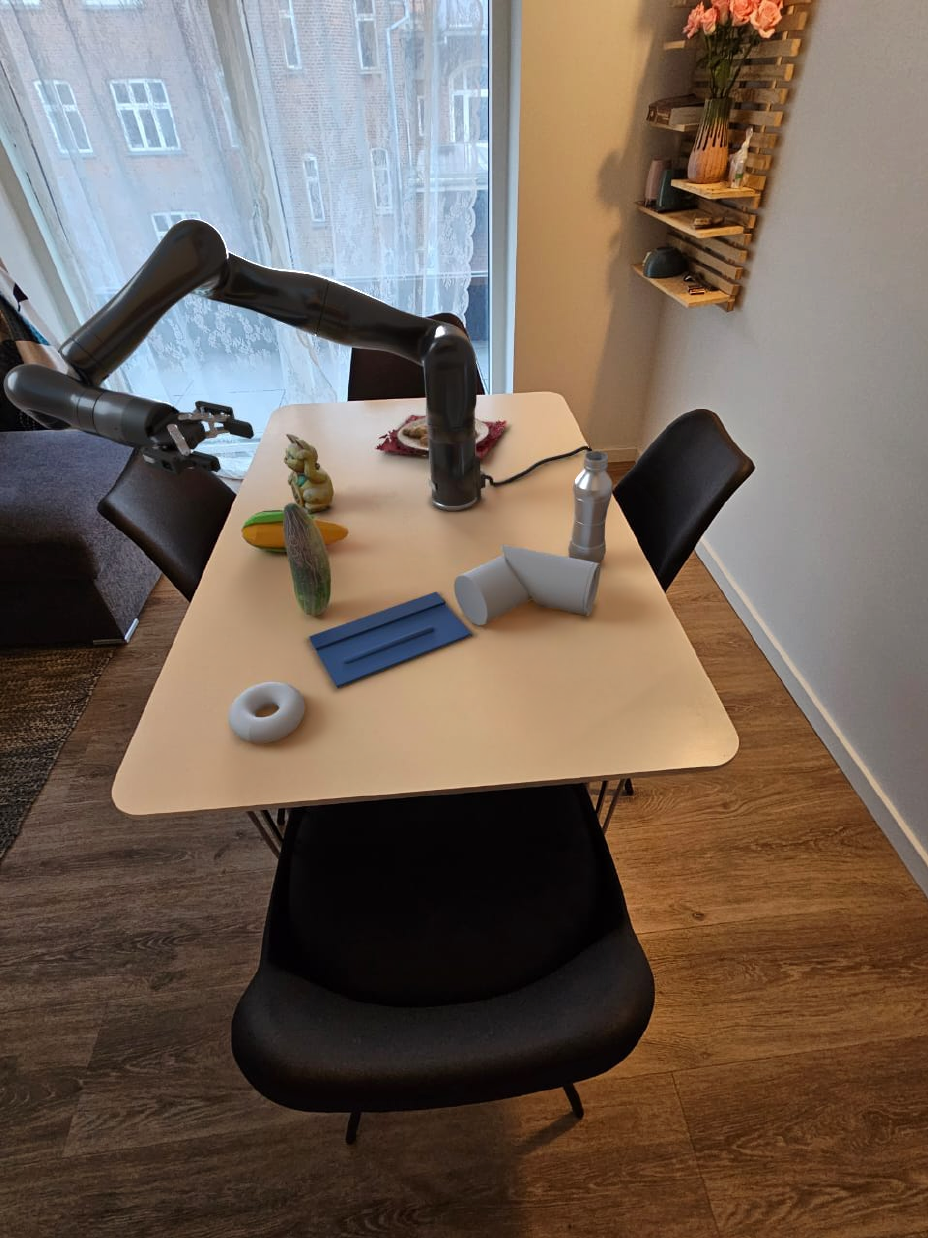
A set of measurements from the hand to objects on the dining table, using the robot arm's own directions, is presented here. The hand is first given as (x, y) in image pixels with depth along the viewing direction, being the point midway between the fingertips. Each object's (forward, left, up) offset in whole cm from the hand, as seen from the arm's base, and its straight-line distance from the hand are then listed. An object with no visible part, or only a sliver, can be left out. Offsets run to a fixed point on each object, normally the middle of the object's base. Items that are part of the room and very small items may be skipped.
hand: (235, 447), depth 91 cm
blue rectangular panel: (-12, +19, -27) cm, 35 cm away
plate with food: (-53, -42, -27) cm, 73 cm away
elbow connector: (-35, +24, -27) cm, 51 cm away
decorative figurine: (-16, -28, -27) cm, 43 cm away
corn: (-8, -14, -27) cm, 32 cm away
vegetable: (-5, +7, -27) cm, 29 cm away
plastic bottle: (-50, +18, -27) cm, 60 cm away
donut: (+9, +26, -27) cm, 39 cm away
